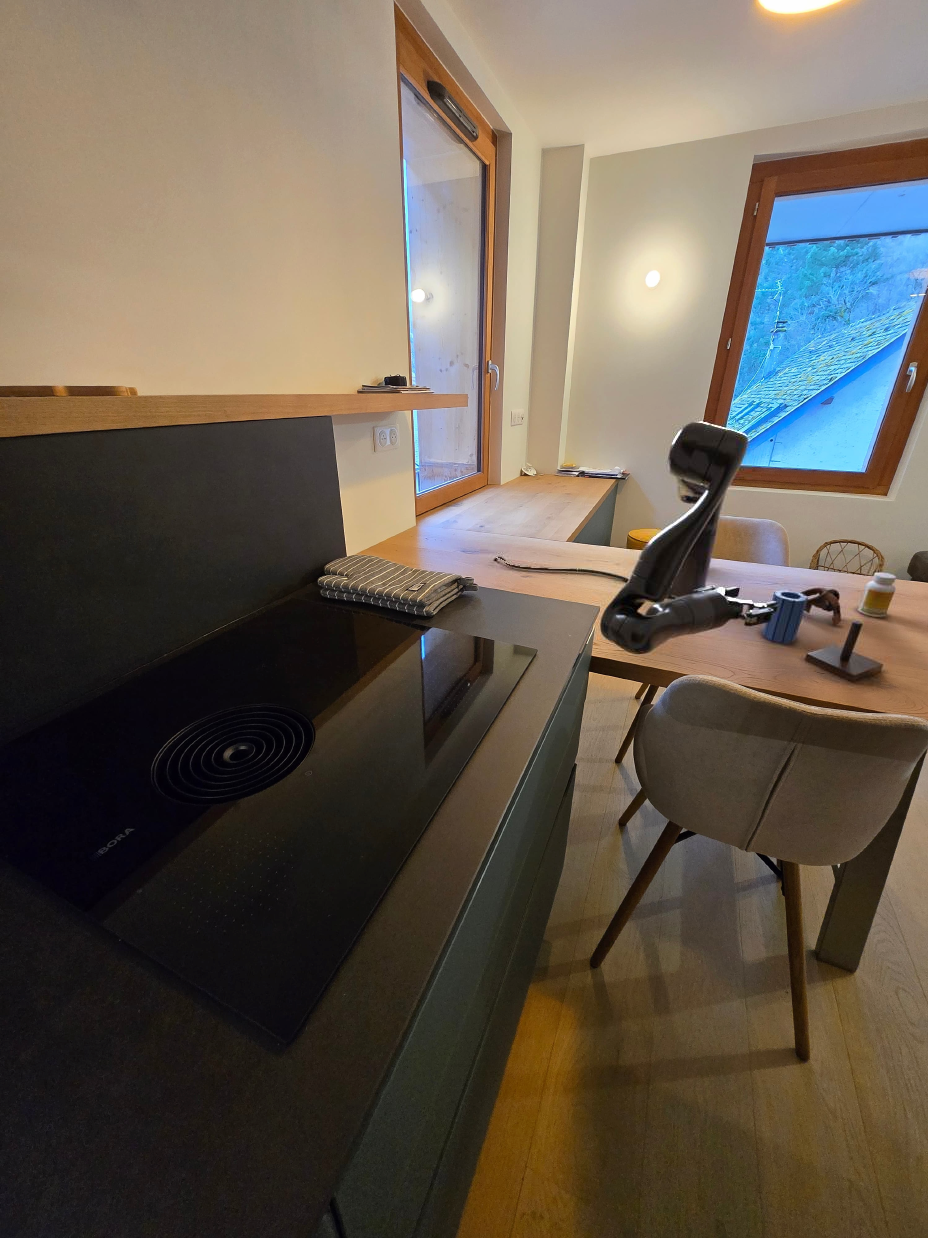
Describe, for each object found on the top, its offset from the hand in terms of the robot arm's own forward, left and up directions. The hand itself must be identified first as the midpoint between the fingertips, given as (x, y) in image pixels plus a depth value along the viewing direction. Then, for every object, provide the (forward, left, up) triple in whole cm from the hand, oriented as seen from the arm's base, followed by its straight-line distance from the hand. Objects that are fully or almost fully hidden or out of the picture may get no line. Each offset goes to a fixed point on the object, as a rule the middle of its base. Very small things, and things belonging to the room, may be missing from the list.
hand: (755, 598), depth 100 cm
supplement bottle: (+32, +28, -12) cm, 44 cm away
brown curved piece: (+19, +22, -12) cm, 31 cm away
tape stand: (+17, -2, -11) cm, 21 cm away
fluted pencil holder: (+8, +8, -11) cm, 16 cm away
